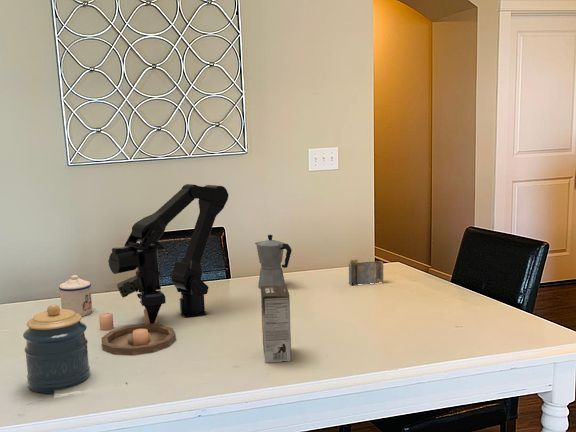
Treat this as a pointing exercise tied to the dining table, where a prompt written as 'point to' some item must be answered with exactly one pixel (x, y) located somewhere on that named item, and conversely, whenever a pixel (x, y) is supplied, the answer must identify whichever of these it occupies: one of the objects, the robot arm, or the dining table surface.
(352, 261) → the grey spool block
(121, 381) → the dining table surface
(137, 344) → the bead
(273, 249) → the coffeepot
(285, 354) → the coffee box
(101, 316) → the bead
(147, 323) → the bead
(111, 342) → the groove tray
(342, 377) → the dining table surface
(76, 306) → the white lidded jar
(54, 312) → the canister
